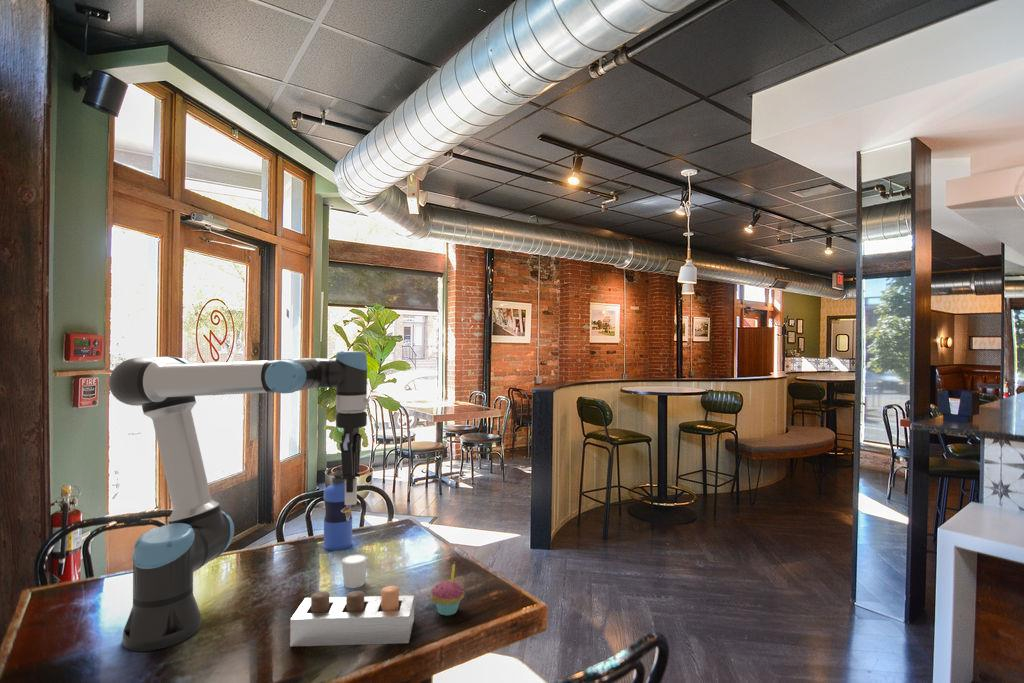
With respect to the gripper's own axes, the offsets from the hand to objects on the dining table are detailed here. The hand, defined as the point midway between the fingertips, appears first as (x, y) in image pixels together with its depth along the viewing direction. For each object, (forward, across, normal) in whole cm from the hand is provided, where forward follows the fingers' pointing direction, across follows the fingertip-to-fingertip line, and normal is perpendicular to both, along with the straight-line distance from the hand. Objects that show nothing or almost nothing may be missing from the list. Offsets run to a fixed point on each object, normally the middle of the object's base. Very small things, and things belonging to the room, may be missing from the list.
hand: (350, 503), depth 135 cm
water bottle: (+27, +43, +14) cm, 53 cm away
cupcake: (+27, -2, -25) cm, 37 cm away
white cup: (+27, +14, +2) cm, 30 cm away
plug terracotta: (+24, -12, -12) cm, 29 cm away
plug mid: (+25, -12, -4) cm, 28 cm away
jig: (+27, -12, -4) cm, 29 cm away
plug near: (+25, -12, +4) cm, 28 cm away
